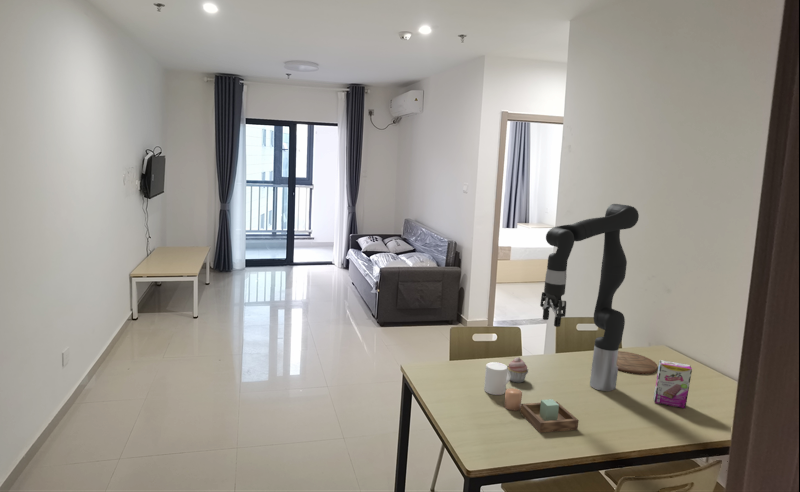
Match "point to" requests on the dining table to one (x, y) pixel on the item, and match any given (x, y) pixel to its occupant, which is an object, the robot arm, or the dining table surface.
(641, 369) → the trivet
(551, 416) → the sage block
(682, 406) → the candy bar box
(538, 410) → the tray
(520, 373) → the cupcake
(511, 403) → the peach capsule shape
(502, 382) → the mug
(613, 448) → the dining table surface
